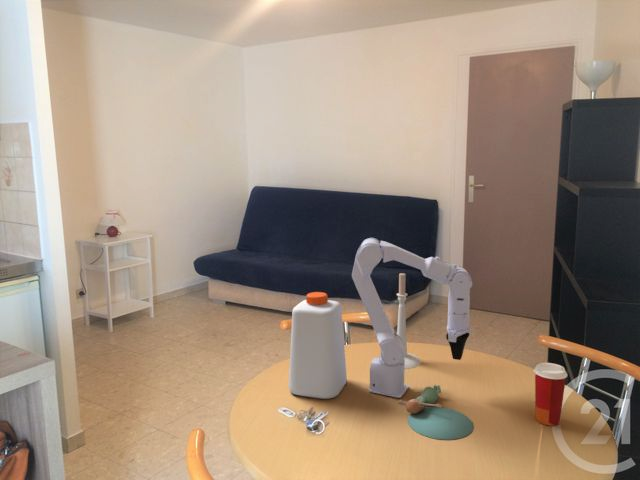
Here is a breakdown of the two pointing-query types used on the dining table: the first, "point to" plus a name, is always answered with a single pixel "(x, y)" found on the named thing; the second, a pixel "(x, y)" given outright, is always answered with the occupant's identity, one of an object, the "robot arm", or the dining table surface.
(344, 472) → the dining table surface
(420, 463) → the dining table surface
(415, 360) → the candlestick
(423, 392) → the toy
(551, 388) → the paper cup
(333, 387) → the plastic bottle
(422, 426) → the mat
